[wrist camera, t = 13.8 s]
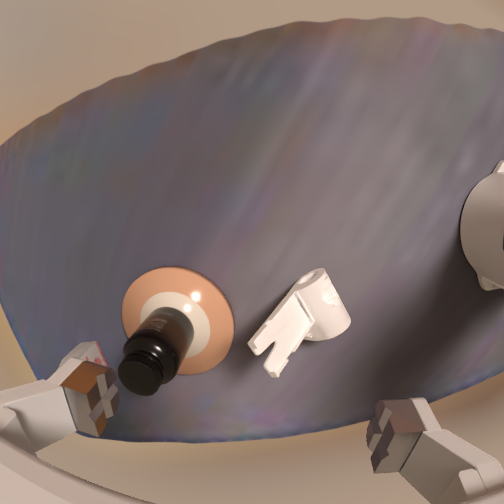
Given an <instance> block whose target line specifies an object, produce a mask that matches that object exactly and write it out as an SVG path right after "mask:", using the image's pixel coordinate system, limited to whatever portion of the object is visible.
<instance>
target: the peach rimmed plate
mask: <svg viewBox="0 0 504 504" xmlns="http://www.w3.org/2000/svg"><path fill="white" fill-rule="evenodd" d="M160 307H172V308H175V309H178V310H180V311H181V312H183V313H184V314H185V315H186V316H187V317H188V318H189V319H190V321H191V323H192V325H193V328H194V338H193V341H192V344H191V346H190V348H189V350H188V352H187V354H186V356H185V358H184V360H183V362H182V364H181V366H180V368H179V370H178V372H177V374H188V375H190V374H198V373H202V372H205V371H208V370H210V369H212V368H213V367H215V366H216V365H218V364H219V363H220V362H221V361H222V360H223V359H224V358H225V356H226V355H227V353H228V351H229V349H230V347H231V344H232V340H233V337H234V331H235V321H234V315H233V312H232V308H231V306H230V304H229V302H228V300H227V298H226V297H225V295H224V294H223V292H222V291H221V290H220V289H219V288H218V287H217V286H216V285H215V284H214V283H213V282H212V281H211V280H210V279H208V278H207V277H205V276H204V275H202V274H200V273H198V272H196V271H194V270H191V269H188V268H185V267H179V266H163V267H159V268H155V269H153V270H150V271H148V272H146V273H145V274H143V275H142V276H141V277H139V278H138V279H137V280H136V281H135V282H134V283H133V284H132V285H131V286H130V287H129V289H128V291H127V292H126V295H125V297H124V301H123V305H122V320H123V325H124V329H125V331H126V334H127V336H128V338H130V337H131V335H132V334H133V333H134V332H135V331H136V329H137V328H138V327H139V326H140V325H141V324H142V322H143V321H144V320H145V319H146V318H147V317H148V316H149V314H150V313H151V312H152V311H154V310H155V309H157V308H160Z"/></svg>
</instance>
